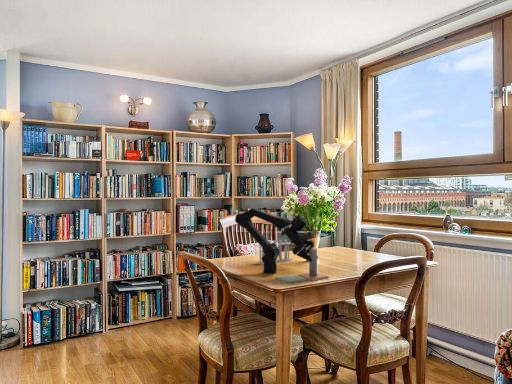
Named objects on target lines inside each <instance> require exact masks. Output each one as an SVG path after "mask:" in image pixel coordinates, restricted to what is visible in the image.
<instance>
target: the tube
mask: <svg viewBox="0 0 512 384" xmlns="http://www.w3.org/2000/svg"><path fill="white" fill-rule="evenodd" d="M308 255H309V256H310V257H311V259H312V261H311V262H310V261H308V273H309V276H317V273H318V258H317V256H318V250H317V249H316V248H315V247H314V248H311V249H310V250H309V254H308Z"/></svg>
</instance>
